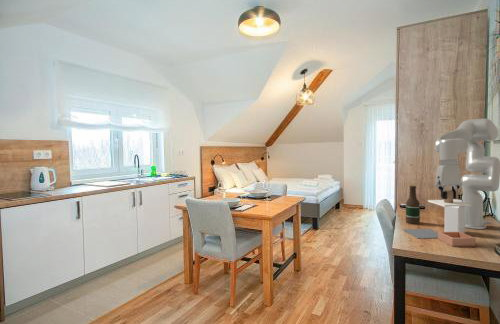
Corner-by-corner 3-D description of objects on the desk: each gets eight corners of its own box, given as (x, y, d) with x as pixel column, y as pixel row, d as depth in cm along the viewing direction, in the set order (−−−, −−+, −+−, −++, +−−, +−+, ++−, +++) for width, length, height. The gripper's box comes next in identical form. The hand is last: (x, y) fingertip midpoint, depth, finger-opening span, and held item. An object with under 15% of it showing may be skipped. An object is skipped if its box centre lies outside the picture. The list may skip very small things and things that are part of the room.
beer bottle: (419, 225, 173) (419, 187, 172) (405, 223, 177) (405, 186, 176) (419, 222, 180) (419, 185, 179) (406, 220, 184) (406, 184, 183)
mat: (430, 229, 164) (430, 228, 164) (448, 238, 148) (448, 237, 148) (402, 230, 164) (402, 229, 164) (417, 238, 148) (417, 237, 148)
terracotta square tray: (459, 239, 146) (459, 231, 146) (475, 246, 135) (475, 238, 135) (437, 239, 146) (437, 231, 146) (452, 246, 135) (452, 238, 135)
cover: (452, 201, 150) (452, 188, 149) (471, 205, 137) (471, 192, 136) (427, 201, 150) (427, 189, 150) (444, 206, 137) (444, 192, 137)
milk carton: (458, 235, 152) (458, 200, 152) (444, 231, 159) (444, 198, 158) (465, 232, 156) (465, 199, 155) (451, 229, 162) (451, 197, 161)
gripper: (459, 162, 146) (459, 196, 147) (427, 163, 146) (427, 197, 147) (470, 163, 138) (470, 199, 139) (436, 164, 139) (436, 200, 140)
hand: (448, 198), depth 143 cm, fingers closed on cover, 4 cm apart
